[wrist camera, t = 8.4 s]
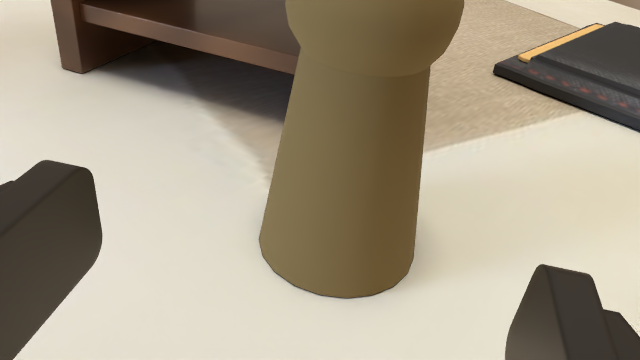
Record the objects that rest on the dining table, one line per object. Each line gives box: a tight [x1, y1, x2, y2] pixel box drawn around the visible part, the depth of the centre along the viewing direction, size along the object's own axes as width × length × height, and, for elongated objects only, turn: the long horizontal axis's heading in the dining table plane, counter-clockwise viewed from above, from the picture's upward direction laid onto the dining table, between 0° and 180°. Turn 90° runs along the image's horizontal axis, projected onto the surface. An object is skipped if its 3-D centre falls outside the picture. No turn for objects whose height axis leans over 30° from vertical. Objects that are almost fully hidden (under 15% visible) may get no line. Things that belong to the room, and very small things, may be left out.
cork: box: [259, 0, 464, 298], centre depth 18 cm, size 6×6×11 cm
